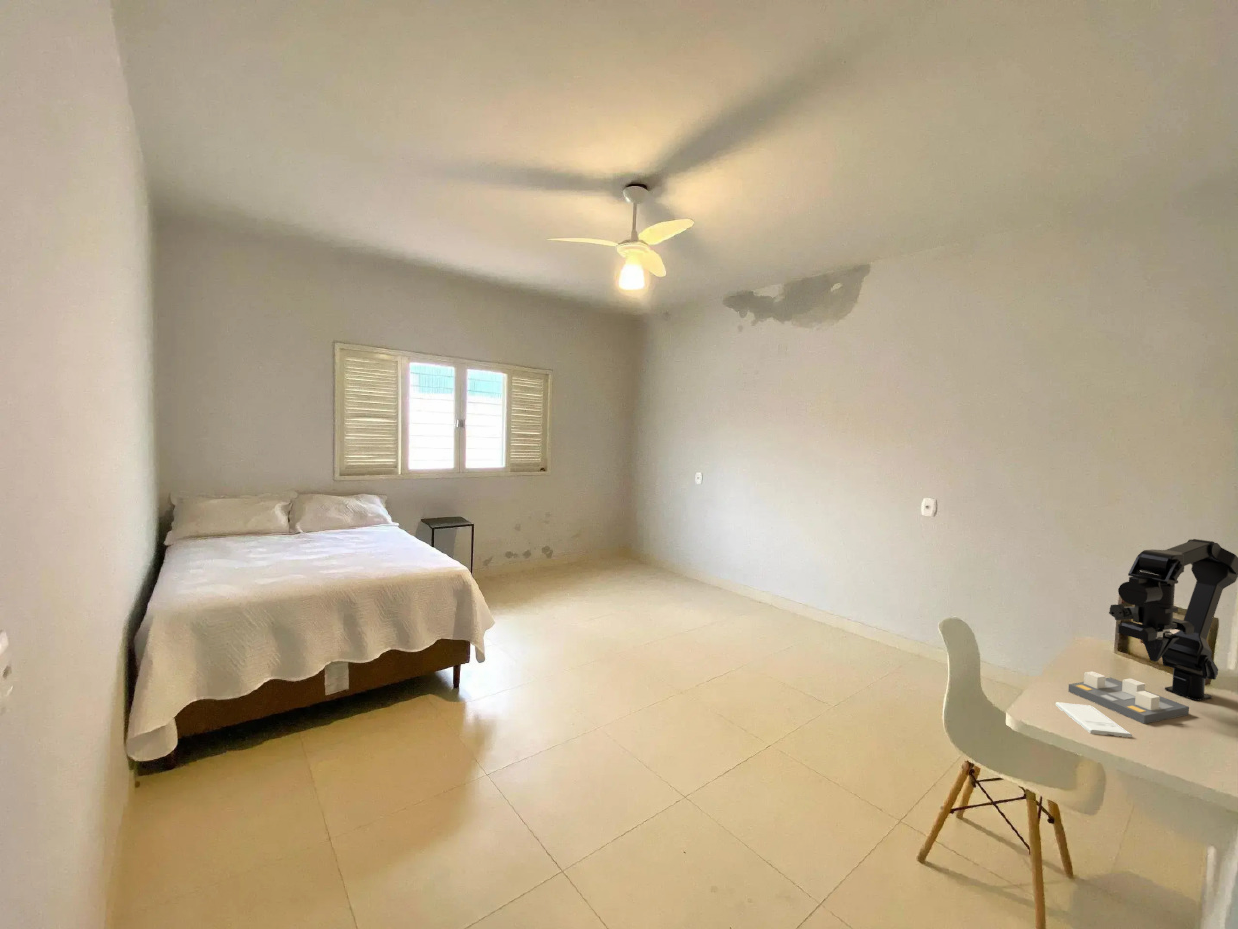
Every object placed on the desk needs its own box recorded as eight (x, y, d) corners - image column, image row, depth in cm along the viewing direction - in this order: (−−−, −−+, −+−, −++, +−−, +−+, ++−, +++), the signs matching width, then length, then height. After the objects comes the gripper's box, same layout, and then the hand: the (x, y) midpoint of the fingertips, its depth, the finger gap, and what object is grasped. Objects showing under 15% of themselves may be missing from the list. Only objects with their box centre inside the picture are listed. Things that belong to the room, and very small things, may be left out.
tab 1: (1091, 682, 136) (1092, 671, 136) (1104, 687, 134) (1105, 676, 133) (1083, 683, 136) (1084, 672, 136) (1096, 688, 133) (1097, 677, 133)
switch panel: (1110, 684, 140) (1110, 677, 140) (1188, 714, 125) (1189, 706, 124) (1068, 691, 136) (1068, 683, 136) (1144, 723, 120) (1144, 715, 120)
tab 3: (1143, 702, 126) (1144, 690, 126) (1159, 708, 123) (1159, 696, 123) (1135, 704, 125) (1135, 692, 125) (1150, 710, 122) (1151, 698, 122)
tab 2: (1129, 689, 133) (1130, 678, 132) (1144, 695, 130) (1145, 683, 130) (1121, 691, 132) (1122, 679, 132) (1136, 696, 129) (1137, 685, 129)
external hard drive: (1092, 712, 127) (1132, 740, 114) (1054, 708, 128) (1090, 735, 116) (1093, 705, 126) (1132, 733, 114) (1055, 701, 128) (1090, 729, 116)
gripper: (1141, 589, 139) (1138, 645, 140) (1094, 594, 134) (1091, 652, 135) (1197, 601, 129) (1193, 661, 129) (1148, 608, 123) (1144, 670, 124)
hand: (1153, 661), depth 130 cm, fingers closed
